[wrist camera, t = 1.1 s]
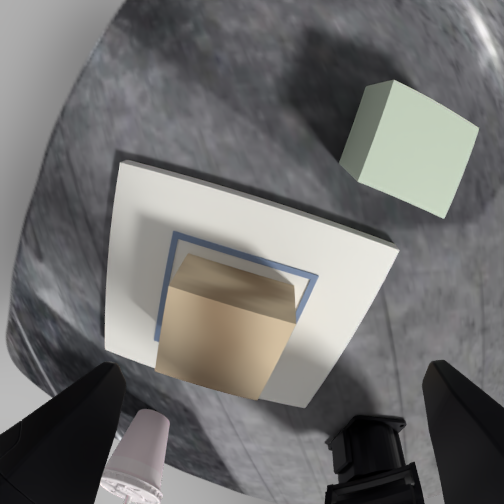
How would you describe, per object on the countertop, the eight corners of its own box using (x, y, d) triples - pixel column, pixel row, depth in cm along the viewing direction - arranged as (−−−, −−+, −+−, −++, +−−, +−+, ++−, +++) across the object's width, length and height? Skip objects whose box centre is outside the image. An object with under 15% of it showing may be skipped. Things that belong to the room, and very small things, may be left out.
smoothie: (133, 428, 32) (96, 527, 19) (119, 395, 29) (69, 506, 16) (185, 439, 31) (158, 546, 19) (177, 406, 29) (139, 531, 16)
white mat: (394, 244, 20) (399, 251, 19) (304, 399, 27) (305, 409, 26) (127, 159, 19) (119, 162, 18) (109, 342, 26) (104, 350, 25)
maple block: (294, 285, 20) (296, 324, 17) (260, 360, 23) (256, 400, 20) (187, 253, 20) (168, 285, 16) (171, 333, 23) (154, 370, 19)
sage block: (436, 121, 16) (479, 128, 12) (409, 192, 18) (444, 218, 14) (365, 86, 16) (394, 79, 11) (338, 163, 18) (357, 181, 14)
